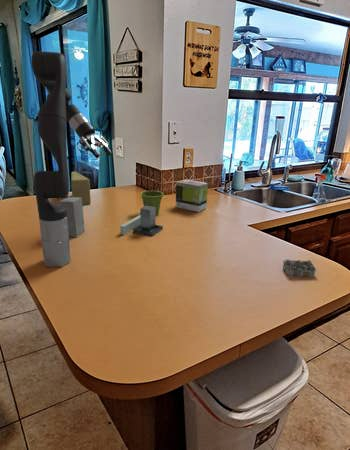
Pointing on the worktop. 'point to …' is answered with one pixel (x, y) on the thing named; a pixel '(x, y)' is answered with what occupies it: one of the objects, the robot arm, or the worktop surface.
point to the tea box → (191, 195)
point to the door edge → (130, 225)
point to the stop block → (147, 218)
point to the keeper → (158, 228)
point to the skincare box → (74, 215)
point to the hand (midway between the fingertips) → (104, 155)
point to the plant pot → (152, 199)
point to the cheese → (80, 187)
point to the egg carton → (299, 268)
